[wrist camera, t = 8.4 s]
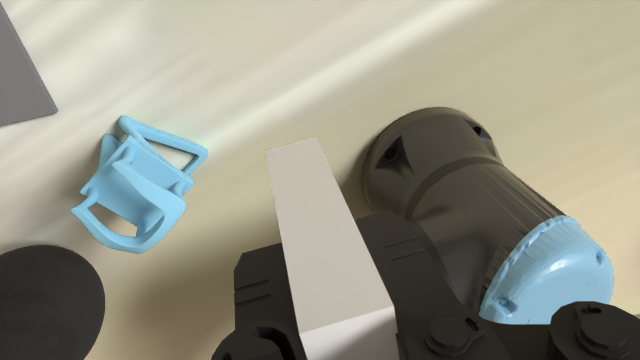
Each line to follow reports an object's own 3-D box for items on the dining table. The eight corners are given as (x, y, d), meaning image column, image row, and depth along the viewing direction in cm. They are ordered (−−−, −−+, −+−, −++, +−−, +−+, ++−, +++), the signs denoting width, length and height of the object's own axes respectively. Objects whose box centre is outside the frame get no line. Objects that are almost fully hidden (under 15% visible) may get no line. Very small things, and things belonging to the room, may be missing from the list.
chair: (138, 96, 39) (105, 151, 29) (210, 151, 43) (204, 216, 33) (87, 153, 41) (40, 225, 30) (161, 201, 44) (141, 278, 34)
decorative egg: (85, 320, 50) (38, 451, 37) (-32, 280, 45) (-134, 418, 32) (140, 249, 47) (108, 366, 34) (21, 197, 41) (-70, 312, 29)
